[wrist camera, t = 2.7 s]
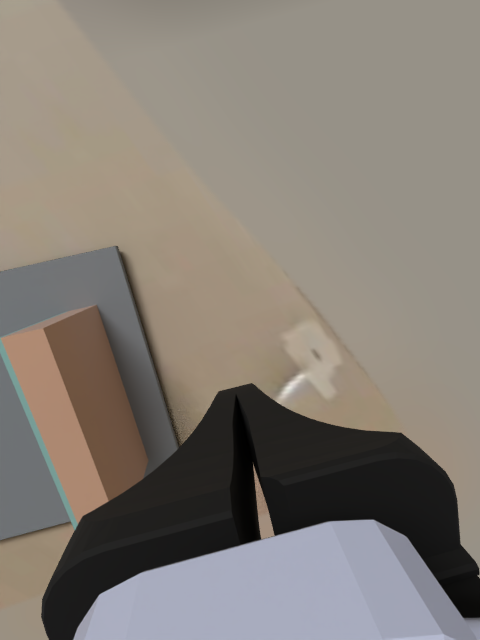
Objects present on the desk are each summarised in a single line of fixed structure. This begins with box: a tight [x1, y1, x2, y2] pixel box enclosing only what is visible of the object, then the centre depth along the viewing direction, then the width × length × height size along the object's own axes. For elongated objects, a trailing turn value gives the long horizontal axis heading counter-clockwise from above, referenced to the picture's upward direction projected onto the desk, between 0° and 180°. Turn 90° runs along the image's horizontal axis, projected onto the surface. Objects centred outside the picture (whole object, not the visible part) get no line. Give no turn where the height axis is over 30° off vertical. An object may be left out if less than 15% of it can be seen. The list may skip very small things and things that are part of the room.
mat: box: [0, 246, 179, 540], centre depth 16 cm, size 12×14×1 cm
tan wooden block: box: [0, 305, 148, 530], centre depth 14 cm, size 2×9×5 cm, turn 13°
